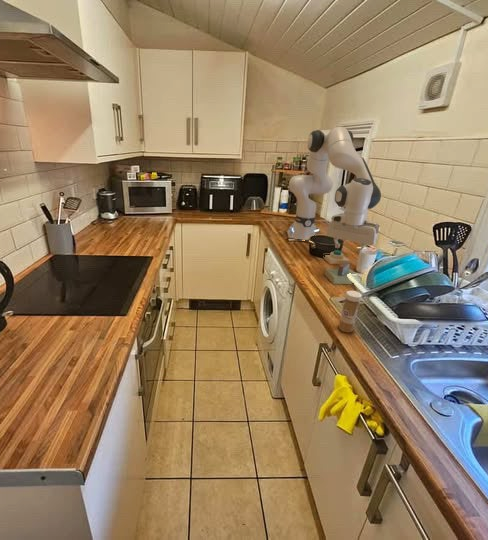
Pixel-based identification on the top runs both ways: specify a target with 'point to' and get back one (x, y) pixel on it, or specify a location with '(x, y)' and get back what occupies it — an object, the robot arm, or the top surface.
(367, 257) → the white cup
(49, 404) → the top surface
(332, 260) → the switch block
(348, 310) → the sprinkles bottle
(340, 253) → the button
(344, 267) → the spout
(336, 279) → the tap plate
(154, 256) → the top surface
